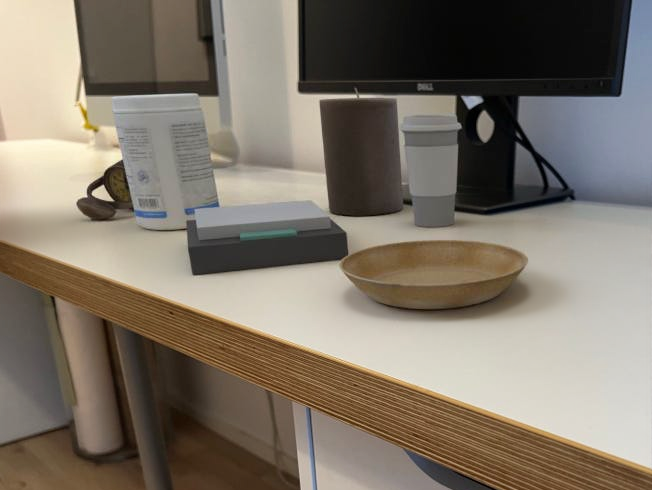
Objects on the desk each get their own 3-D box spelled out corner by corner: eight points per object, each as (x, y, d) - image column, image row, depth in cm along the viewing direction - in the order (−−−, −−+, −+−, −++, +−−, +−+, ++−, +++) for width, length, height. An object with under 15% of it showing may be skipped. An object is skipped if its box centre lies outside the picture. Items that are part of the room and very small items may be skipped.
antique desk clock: (188, 166, 94) (143, 147, 98) (95, 167, 83) (49, 146, 88) (185, 218, 97) (142, 197, 101) (95, 225, 86) (50, 202, 90)
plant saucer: (439, 259, 65) (438, 231, 64) (565, 287, 56) (566, 255, 55) (305, 293, 56) (301, 261, 55) (429, 334, 46) (427, 296, 45)
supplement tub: (216, 214, 90) (197, 93, 85) (226, 226, 83) (206, 93, 77) (135, 221, 87) (109, 95, 81) (137, 235, 79) (108, 96, 73)
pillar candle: (347, 219, 85) (335, 88, 80) (318, 208, 93) (305, 88, 87) (417, 210, 90) (410, 86, 85) (384, 201, 98) (376, 86, 92)
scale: (192, 275, 62) (185, 233, 60) (190, 244, 74) (184, 208, 72) (348, 258, 66) (345, 219, 65) (322, 231, 78) (319, 198, 77)
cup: (446, 215, 86) (443, 113, 82) (475, 223, 81) (472, 115, 77) (394, 222, 83) (388, 116, 78) (421, 231, 78) (415, 118, 73)
